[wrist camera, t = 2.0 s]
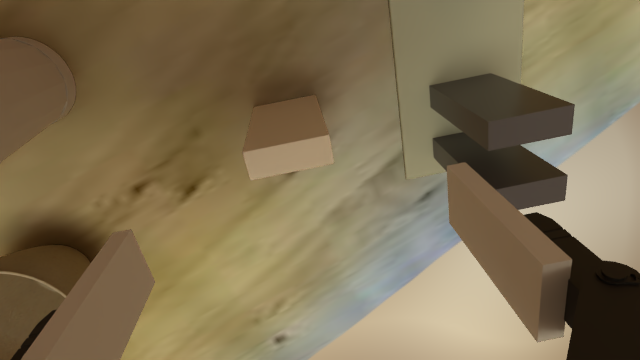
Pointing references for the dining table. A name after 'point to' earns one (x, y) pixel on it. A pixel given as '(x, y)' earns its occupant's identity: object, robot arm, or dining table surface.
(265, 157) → the cream domino
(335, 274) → the dining table surface
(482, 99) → the domino
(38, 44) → the cup
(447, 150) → the domino
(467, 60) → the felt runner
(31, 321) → the flower pot
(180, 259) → the dining table surface
